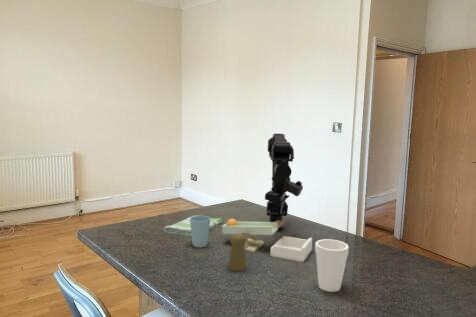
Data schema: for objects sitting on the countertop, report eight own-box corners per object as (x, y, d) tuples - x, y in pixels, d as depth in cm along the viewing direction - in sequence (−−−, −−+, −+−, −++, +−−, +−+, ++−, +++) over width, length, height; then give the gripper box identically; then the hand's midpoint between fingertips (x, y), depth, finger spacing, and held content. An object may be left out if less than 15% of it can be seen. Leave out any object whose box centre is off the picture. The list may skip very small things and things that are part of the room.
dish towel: (162, 232, 160) (162, 224, 159) (191, 218, 181) (191, 211, 180) (197, 239, 153) (197, 230, 152) (223, 224, 173) (224, 216, 173)
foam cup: (339, 297, 107) (342, 253, 105) (308, 288, 112) (310, 246, 110) (349, 284, 115) (352, 243, 113) (319, 276, 120) (322, 237, 118)
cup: (205, 240, 150) (205, 214, 149) (213, 246, 144) (214, 219, 142) (186, 243, 146) (187, 216, 145) (194, 249, 140) (195, 222, 138)
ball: (229, 227, 150) (229, 217, 150) (239, 227, 149) (238, 217, 148) (225, 230, 147) (224, 219, 146) (234, 230, 145) (234, 220, 145)
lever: (239, 222, 161) (239, 215, 160) (285, 222, 152) (284, 215, 152) (222, 233, 146) (221, 226, 146) (272, 234, 137) (271, 226, 137)
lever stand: (245, 239, 152) (245, 223, 151) (264, 243, 149) (264, 226, 148) (234, 248, 142) (234, 231, 141) (254, 252, 139) (254, 234, 138)
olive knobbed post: (248, 265, 128) (249, 233, 126) (243, 272, 122) (244, 239, 120) (231, 262, 129) (232, 231, 128) (225, 269, 124) (226, 236, 122)
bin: (280, 245, 147) (281, 232, 146) (311, 250, 142) (312, 237, 141) (270, 256, 136) (270, 242, 135) (303, 262, 131) (304, 248, 130)
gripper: (294, 180, 136) (292, 223, 138) (307, 173, 153) (305, 211, 155) (265, 177, 141) (263, 218, 143) (280, 170, 158) (279, 207, 160)
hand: (279, 213), depth 150 cm, fingers closed
